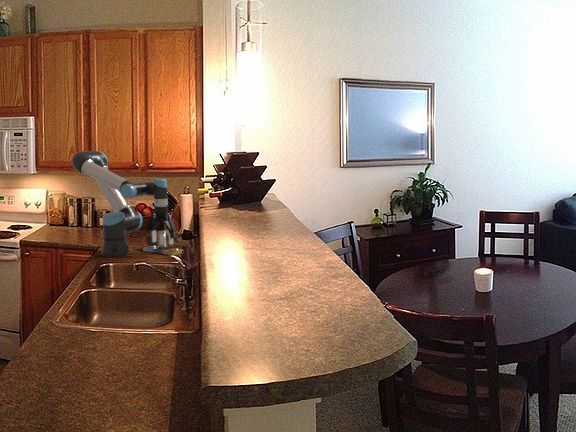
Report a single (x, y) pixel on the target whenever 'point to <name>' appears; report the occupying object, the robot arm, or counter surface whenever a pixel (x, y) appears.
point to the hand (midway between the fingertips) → (162, 243)
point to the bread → (175, 240)
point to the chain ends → (167, 251)
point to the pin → (162, 240)
